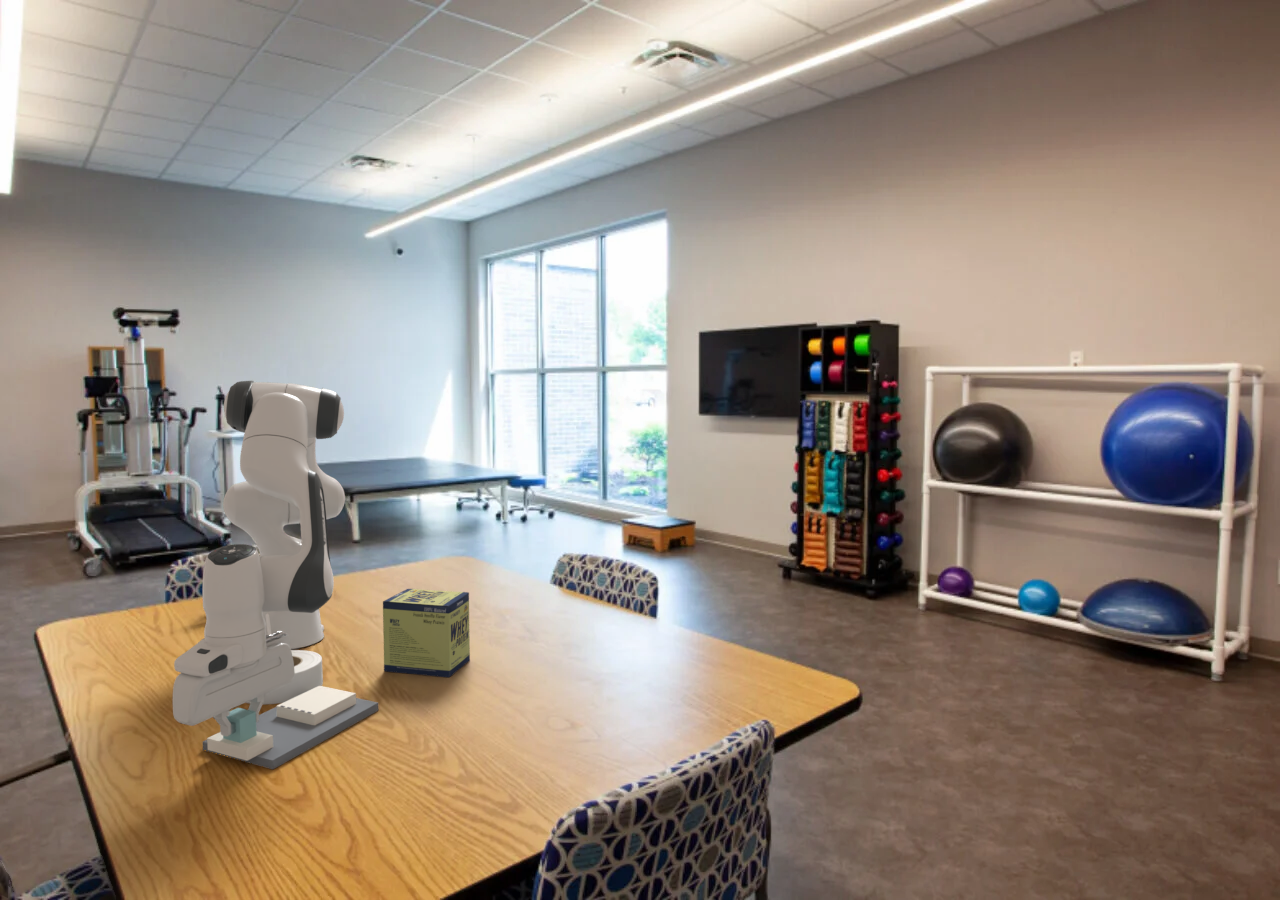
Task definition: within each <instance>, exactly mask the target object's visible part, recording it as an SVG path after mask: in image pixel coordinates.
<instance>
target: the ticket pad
mask: <svg viewBox="0 0 1280 900" xmlns="http://www.w3.org/2000/svg"><path fill="white" fill-rule="evenodd" d="M356 698H357V693H356V692H352V691H351V692H350V691H347V690H342V689H337V688H332V687H328V686H323V685H322V686H318V687H315V688H313V689H311V690H309V691H307V692H305V693H303V694H301V695H298V696H296V697H294V698H292V699H290V700H288V701H286V702H284V703H278V704H277V705H276V706H275V707H277V717H281V718H285V719H289V720H294V721H298V722H302V723H306V724H310V725H314V726H315V725H317V724H318V723H320V722H322V721H324V720H326V719H328V718H330V717H332V716H334V715H335V714H337V713H339V712H341V711H343V710H345V709H347V708H349V707H351V706H353V705H354V704H356Z"/></svg>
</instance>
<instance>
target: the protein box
mask: <svg viewBox="0 0 1280 900" xmlns="http://www.w3.org/2000/svg"><path fill="white" fill-rule="evenodd" d="M382 623H383V624H382V625H383V670H384V671H383V672H389V673H399V674H409V675H410V674H411V675H419V676H429V677H439V678H440V677H443V678H450V677H452V676H453V675H454V674H455V673H457V672H458V671H459V670H460V669H461V668H463V667H464V666H465V665H466V664H467V663H469V661H470V660H471V650H470V648H471V647H470V592H468V591H450V590H432V589H431V590H430V589H418V588H406V589H404V590H403V591H400V592H399V593H396V594H395V595H393V596H391V597H389V598H387V599H384V600H383V601H382Z"/></svg>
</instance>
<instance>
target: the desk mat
mask: <svg viewBox="0 0 1280 900" xmlns="http://www.w3.org/2000/svg"><path fill="white" fill-rule="evenodd" d="M379 708H380V707H379V702H377V701H372V700H368V699H364V698H359V697H356V704H354V705H353V706H351V707H349V708H347V709H345V710H343V711H341V712H339V713H337V714H335V715H334V716H332V717H330V718H328V719H326V720H324V721H322V722H320V723H318V724H317V725H315V726H314V725H310V724H306V723H302V722H298V721H294V720H289V719H285V718H281V717H277V707H276V706H275V707H273V708H271V709H269V710H266V711H265V712H263V713H261V714H260V713H259V721H258V722H256V731H257V732H261V733H265V734H269V735H273V747H272V748H270V749H269V750H267V751H265V752H263V753H261V754H259V755H257V756H255V757H253V758H251V759H250V760H248V761H246V760H243V759H239V758H235V757H232V756H228V755H225V754H221V753H217V752H214V751H210V750H208V746H207V739H205V740H203V741H202V751H204V750H206V751H205V752H208V751H209V752H208V753H211V752H213V754H215V753H217V754H216V755H219V754H221V755H220V756H222V755H225V756H224V757H226V756H228V757H227V758H230V757H231V759H233V758H235V759H234V760H237V759H238V761H240V760H241V762H244V761H245V763H249V764H251V763H252V765H256V766H259V767H262V766H263V767H264V768H266V769H270V770H274V769H276V768H278V767H280V766H282V765H283V764H285V763H287V762H289V761H291V760H292V759H294V758H296V757H297V756H298V757H299V755H301V754H303V753H305V752H307V751H308V750H311V749H313V748H314V747H316V746H317V745H319V744H321V743H323V742H325V741H326V740H328V739H330V738H331V737H333V736H335V735H337V734H339V733H341V732H342V731H344V730H346V729H348V728H350V727H352V726H353V725H355V724H357V723H359V722H361V721H363V720H364V719H366V718H367V717H369V716H371V715H373V714H375V713H377V712H378V711H379Z"/></svg>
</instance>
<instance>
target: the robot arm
mask: <svg viewBox="0 0 1280 900" xmlns="http://www.w3.org/2000/svg"><path fill="white" fill-rule="evenodd" d="M223 413H224V415H225V416H224V417H225V418H226V419H225V420H226V423H227V425H228V426H229V427H231V428H232V430H235V431H237V432H241V433H243V439H242V444H241V450H240V457H239V466H240V467H239V470H240V473H241V474H242V476H243V478H244V480H245V481H242V482H238V483H233V484H232V485H231V486H230V487H229V488H228V489H227V491H226V492H225V495H224V498H223V501H222V503H223V504H222V505H223V512H224V514H225V516H226V518H227V520H229V521H230V522H231V524H232V525H234V526H236V527H238V528H239V529H241V530H242V531H244V532H245V533H246V534H248V536H249V537H250V538H251V539H252V541H253V542H254V544H255V545H256V547H257V548H256V547H255V546H253V545H251V544H247V543H246V544H244V543H243V544H242V543H235V544H228V545H224V546H221V547H218V548H215V549H214V550H212V551H210V553H208V554H207V555H206V557H205V560H204V566H203V575H202V607H203V611H204V613H205V617H206V623H205V626H204V632H203V633H204V638H202V639H201V640H200V641H198V642H197V643H196V644H195V645H193V646H192V647H190V648H189V649H188V650H187V651H185V652H183V653H182V654H181V655H180V656H178V657H177V658H176V659H175V660H174V663H173V665H174V671H176V672H179V674H178V675H177V676H176V678H175V679H174V683H173V686H172V715H173V718H174V720H175V721H176V722H178V723H180V724H183V725H186V726H192V727H193V726H196V725H199V724H200V723H202V722H205V721H207V720H209V719H211V718H213V719H214V720H215V721H216V723H217V724H218V725H219V728H220V729H219V732H220V733H221V735H223V736H226V737H227V736H229V735H231V734H233V733H235V732H236V729H235V727H236V723H234V722H230V721H229V720H228V719H227V717H226V716H229V715H230V713H229V712H230V711H231V710H233V709H234V708H237V707H239V706H241V705H243V704H246V703H245V702H248V701H251V703H250V704H249V707H248V709H247V710H250V711H254V712H256V722H258V721H259V715H260V711H261V709H262V706H263V705H264V704H263V702H264V694H266V693H268V692H270V691H272V690H275V689H277V688H279V687H281V686H284V685H286V684H288V683H290V682H292V680H293V678H294V675H295V670H294V662H293V656H292V652H291V650H296V649H300V648H304V647H308V646H311V645H313V644H316V643H318V642H320V641H322V640H323V639H324V638H325V634H324V630H325V627H324V624H322V620H321V614H320V609H321V608H322V607H323V606H324V605H325V604H326V603H328V602H329V601H330V599H331V598H332V596H333V592H334V587H335V586H334V584H335V582H334V579H335V578H334V574H333V569H332V564H331V557H330V549H329V547H330V546H329V536H328V524H327V523H328V522H327V520H329V519H332V518H337V516H339V515H340V513H341V512H342V510H343V509H344V505H345V501H346V495H345V494H346V493H345V490H344V488H343V486H342V485H341V483H340V482H339V481H338V480H337V479H336V478H334V477H332V476H330V475H328V474H327V473H325V472H324V471H323V470H322V469H321V468H320V467H319V464H318V463H317V462H318V461H317V457H316V441H317V440H324V439H325V440H326V439H331V438H333V437H334V436H335V435H337V434H338V431H339V430H340V428H341V426H342V424H343V422H344V416H345V409H344V405H343V402H342V398H341V396H340V395H339V394H338V393H337V392H336V391H333V390H332V389H328V388H324V387H322V388H321V389H320V388H317V387H313V386H310V385H309V386H308V385H304V384H298V383H292V382H287V383H284V382H269V381H267V382H264V381H261V382H260V381H259V382H257V381H256V382H255V381H254V380H241V381H237V382H235V383H234V384H233V385H231V386H230V388H229V390H228V392H227V393H226V395H225V398H224V402H223ZM297 524H298V525H299V524H300V537H301V538H298V537H294V536H291V535H288V534H287V533H286V532H285V529H284V527H285V526H288V525H297Z"/></svg>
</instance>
